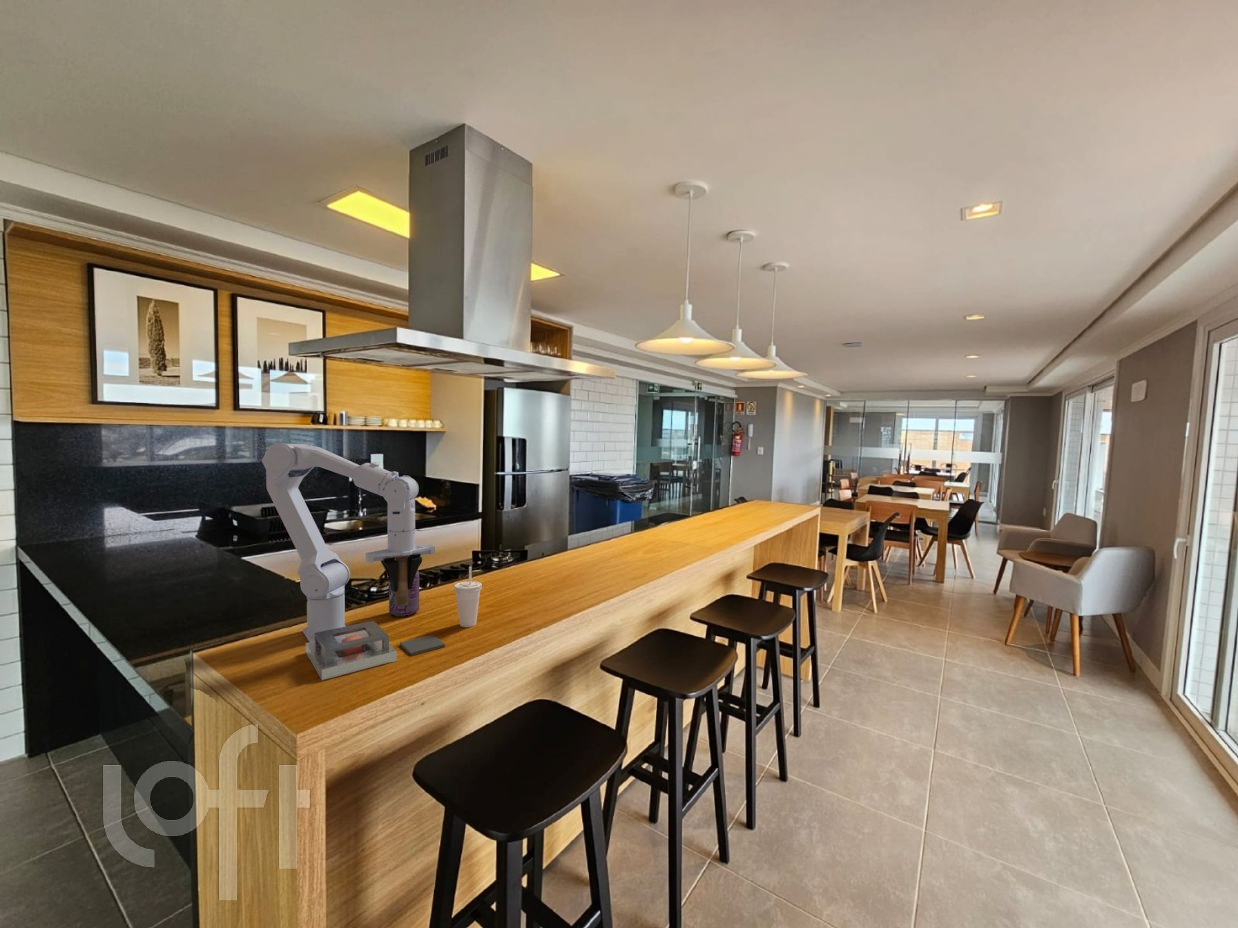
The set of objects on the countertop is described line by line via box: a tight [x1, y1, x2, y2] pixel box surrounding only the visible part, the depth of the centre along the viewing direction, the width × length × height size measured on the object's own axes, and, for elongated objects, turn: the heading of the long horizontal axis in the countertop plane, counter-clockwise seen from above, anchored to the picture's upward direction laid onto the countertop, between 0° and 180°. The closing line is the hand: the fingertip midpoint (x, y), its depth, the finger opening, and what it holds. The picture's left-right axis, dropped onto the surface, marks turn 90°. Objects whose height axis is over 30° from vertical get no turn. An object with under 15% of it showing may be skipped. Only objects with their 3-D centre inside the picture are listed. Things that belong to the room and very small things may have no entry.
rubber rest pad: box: [399, 634, 446, 657], centre depth 106 cm, size 7×7×1 cm
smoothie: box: [453, 566, 483, 628], centre depth 119 cm, size 6×6×14 cm
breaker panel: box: [305, 620, 398, 681], centre depth 100 cm, size 16×13×5 cm
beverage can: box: [388, 569, 420, 617], centre depth 126 cm, size 7×7×12 cm
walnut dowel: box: [395, 556, 408, 606], centre depth 112 cm, size 3×3×11 cm
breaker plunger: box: [342, 636, 363, 656], centre depth 99 cm, size 4×4×2 cm
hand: (401, 589), depth 113 cm, fingers closed on walnut dowel, 3 cm apart
